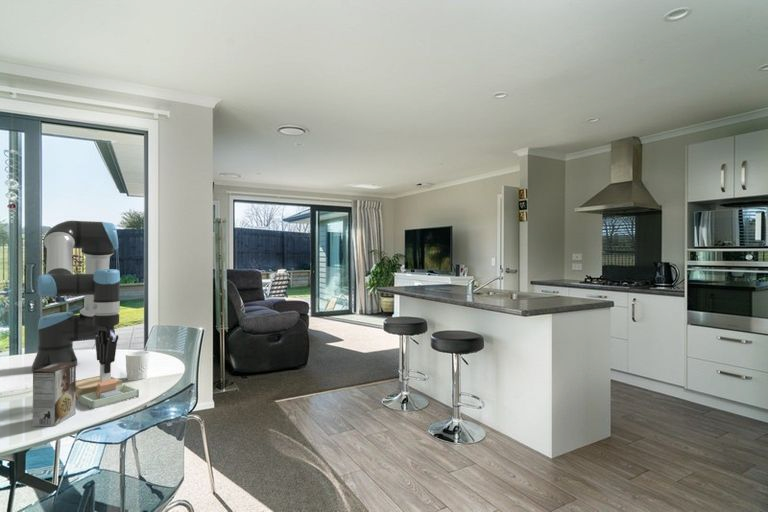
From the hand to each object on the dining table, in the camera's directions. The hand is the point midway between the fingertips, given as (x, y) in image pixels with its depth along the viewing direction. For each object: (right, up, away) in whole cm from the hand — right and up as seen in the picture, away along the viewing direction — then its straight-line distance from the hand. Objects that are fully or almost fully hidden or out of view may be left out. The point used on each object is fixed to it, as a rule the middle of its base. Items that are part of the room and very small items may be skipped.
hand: (105, 381), depth 139 cm
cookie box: (-2, -6, -19) cm, 20 cm away
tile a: (0, -2, 0) cm, 2 cm away
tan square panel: (-7, -5, +4) cm, 10 cm away
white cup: (-3, -6, +22) cm, 23 cm away
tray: (+3, -5, -2) cm, 6 cm away
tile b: (+4, -3, -3) cm, 6 cm away
